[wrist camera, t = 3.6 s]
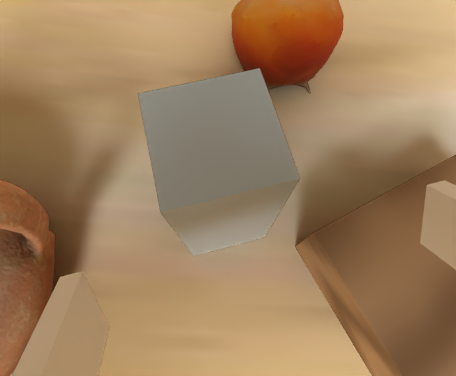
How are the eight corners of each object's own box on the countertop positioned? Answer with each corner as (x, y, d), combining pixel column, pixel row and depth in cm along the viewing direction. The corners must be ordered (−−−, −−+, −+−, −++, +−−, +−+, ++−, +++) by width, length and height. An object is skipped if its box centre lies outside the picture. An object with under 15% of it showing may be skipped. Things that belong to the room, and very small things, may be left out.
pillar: (193, 256, 21) (160, 212, 10) (178, 189, 22) (137, 93, 12) (263, 237, 21) (300, 178, 11) (244, 173, 23) (259, 68, 12)
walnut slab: (293, 247, 21) (313, 232, 17) (427, 173, 23) (479, 142, 19) (404, 432, 18) (469, 480, 13) (551, 326, 20) (654, 335, 15)
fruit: (248, 120, 23) (241, -6, 18) (230, 83, 29) (220, -18, 24) (352, 102, 23) (373, -24, 18) (312, 70, 29) (320, -32, 24)
